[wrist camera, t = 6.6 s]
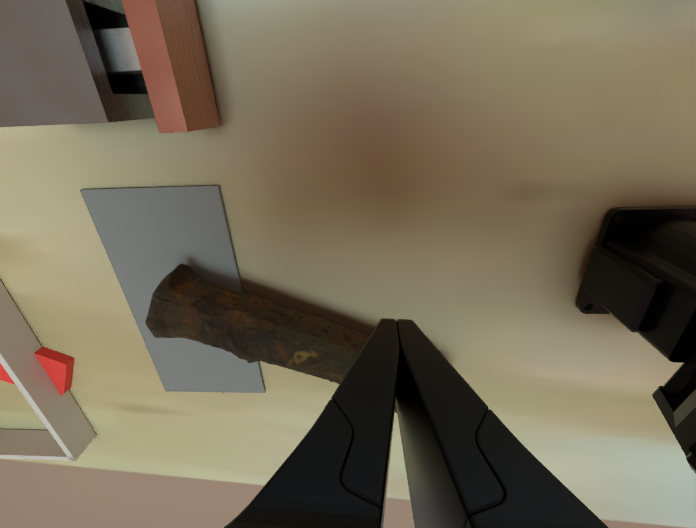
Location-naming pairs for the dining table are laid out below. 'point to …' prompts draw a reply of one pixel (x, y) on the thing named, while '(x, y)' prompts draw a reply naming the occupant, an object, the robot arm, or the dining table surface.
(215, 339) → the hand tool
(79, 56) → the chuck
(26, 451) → the parts frame
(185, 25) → the key
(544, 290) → the dining table surface
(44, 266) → the dining table surface
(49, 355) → the bracket
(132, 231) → the mat
